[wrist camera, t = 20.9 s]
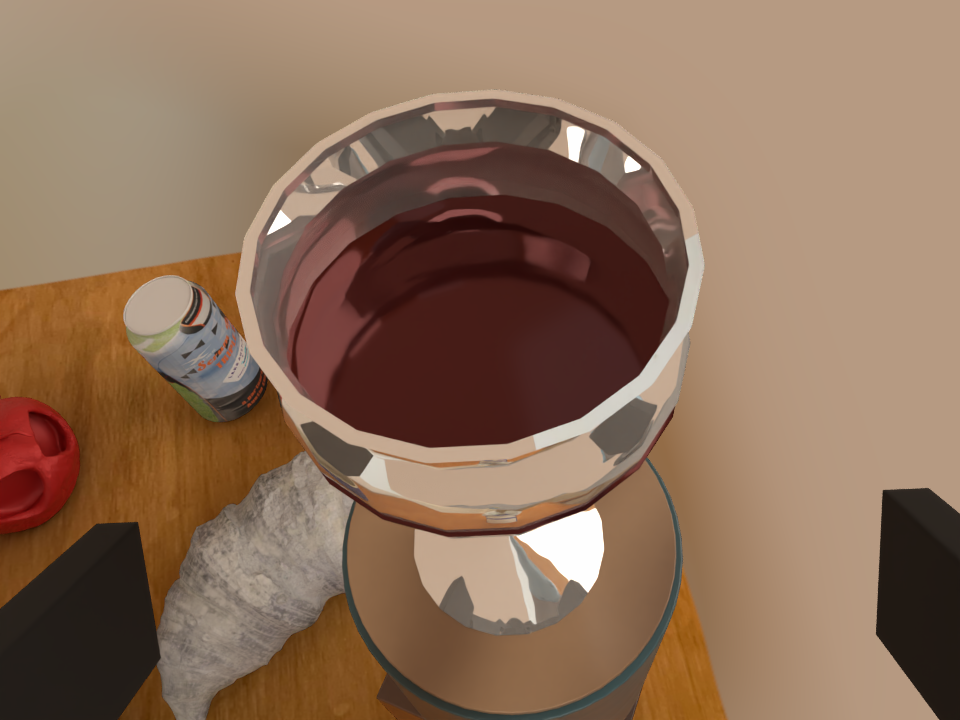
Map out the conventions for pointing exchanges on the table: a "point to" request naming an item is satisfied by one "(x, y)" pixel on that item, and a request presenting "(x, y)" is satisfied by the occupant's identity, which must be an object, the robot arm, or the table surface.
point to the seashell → (251, 583)
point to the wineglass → (478, 332)
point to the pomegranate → (34, 463)
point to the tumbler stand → (530, 657)
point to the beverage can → (194, 347)
